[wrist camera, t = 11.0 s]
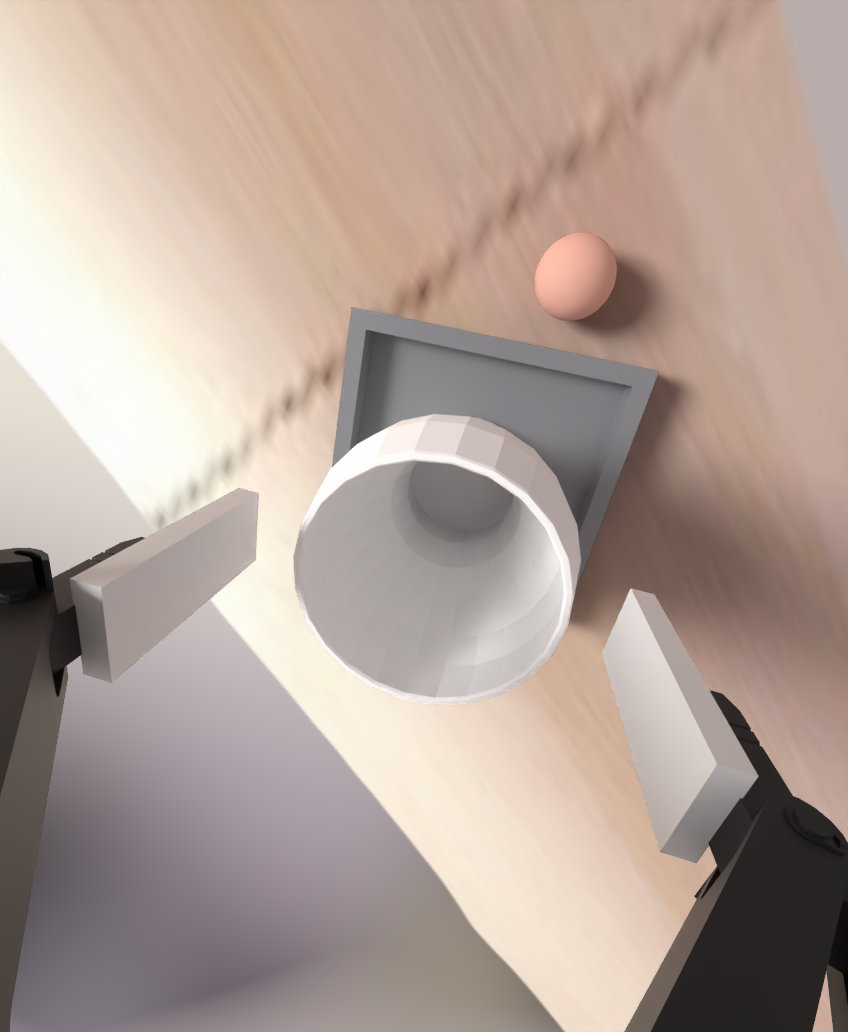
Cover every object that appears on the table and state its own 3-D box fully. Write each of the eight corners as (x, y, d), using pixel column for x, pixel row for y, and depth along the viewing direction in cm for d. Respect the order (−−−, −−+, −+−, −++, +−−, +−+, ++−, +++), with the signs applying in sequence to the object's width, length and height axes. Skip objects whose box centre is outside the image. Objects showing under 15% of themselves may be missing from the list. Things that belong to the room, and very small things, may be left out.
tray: (364, 310, 27) (351, 306, 25) (646, 369, 25) (659, 371, 23) (332, 554, 33) (319, 568, 31) (556, 614, 32) (559, 633, 30)
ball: (544, 236, 24) (550, 215, 20) (618, 250, 24) (638, 230, 20) (524, 315, 26) (526, 309, 22) (593, 329, 25) (607, 325, 22)
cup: (587, 473, 27) (670, 596, 13) (470, 580, 31) (440, 763, 17) (459, 354, 26) (404, 353, 12) (355, 480, 30) (224, 588, 16)
